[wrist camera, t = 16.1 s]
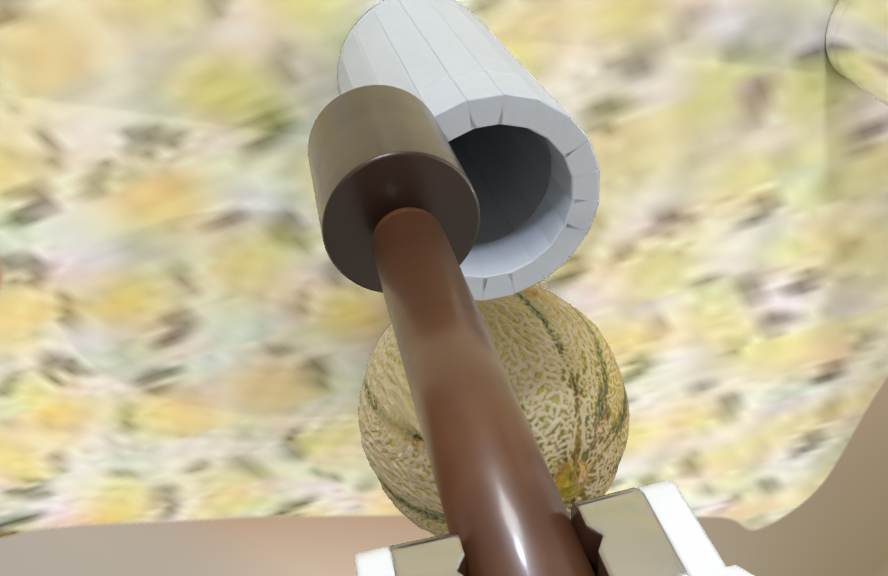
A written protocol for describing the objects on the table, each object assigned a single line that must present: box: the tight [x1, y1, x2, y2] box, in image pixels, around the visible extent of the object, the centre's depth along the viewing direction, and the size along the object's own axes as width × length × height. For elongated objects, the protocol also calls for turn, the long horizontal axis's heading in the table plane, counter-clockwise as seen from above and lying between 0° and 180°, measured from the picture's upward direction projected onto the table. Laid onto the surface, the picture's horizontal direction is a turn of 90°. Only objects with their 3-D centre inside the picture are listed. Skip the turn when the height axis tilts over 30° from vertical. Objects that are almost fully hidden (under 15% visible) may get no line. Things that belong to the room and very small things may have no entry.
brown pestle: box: [308, 85, 596, 576], centre depth 16 cm, size 4×4×20 cm
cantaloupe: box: [358, 285, 630, 536], centre depth 45 cm, size 15×15×15 cm
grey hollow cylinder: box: [337, 0, 600, 301], centre depth 36 cm, size 8×8×15 cm
